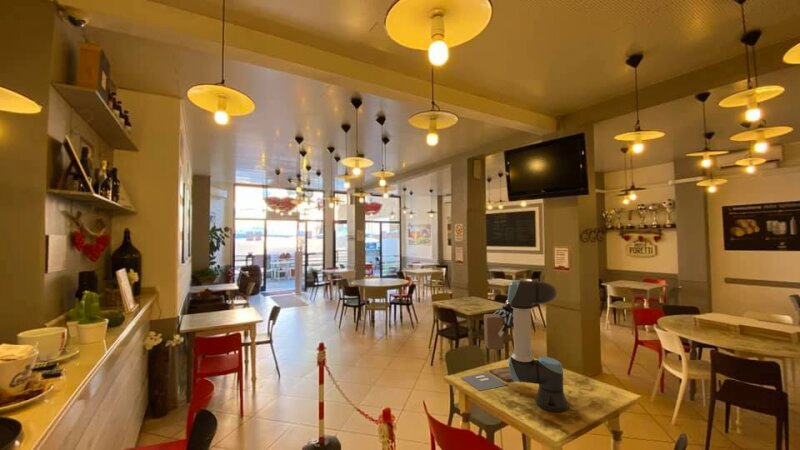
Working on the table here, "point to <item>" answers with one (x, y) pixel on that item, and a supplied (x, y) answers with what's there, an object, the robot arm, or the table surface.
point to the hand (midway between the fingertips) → (492, 332)
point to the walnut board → (502, 373)
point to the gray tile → (483, 381)
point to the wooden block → (493, 331)
